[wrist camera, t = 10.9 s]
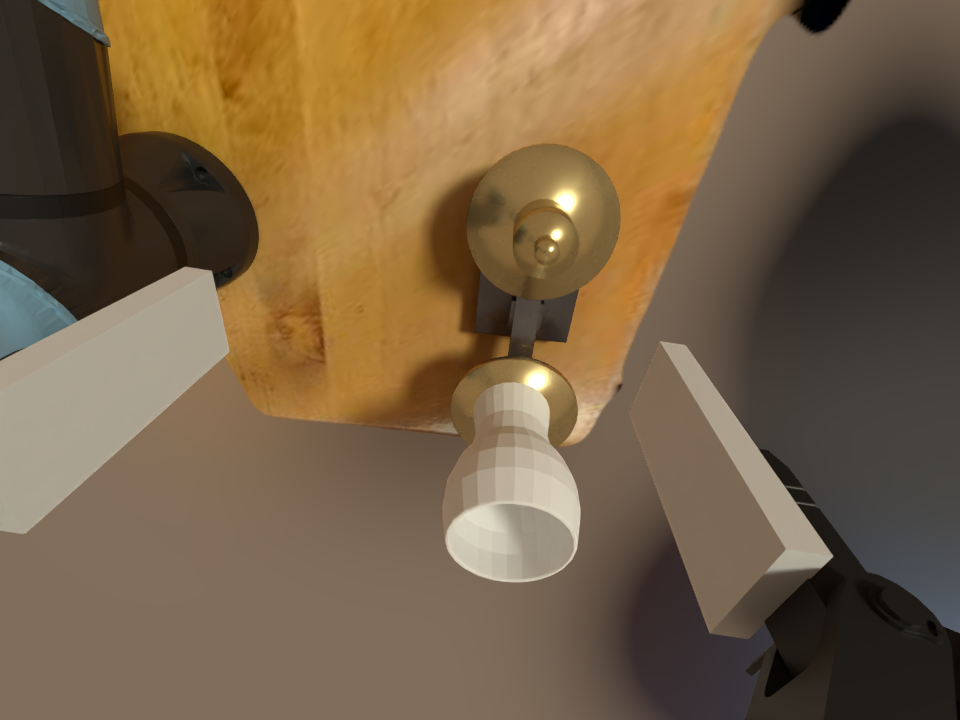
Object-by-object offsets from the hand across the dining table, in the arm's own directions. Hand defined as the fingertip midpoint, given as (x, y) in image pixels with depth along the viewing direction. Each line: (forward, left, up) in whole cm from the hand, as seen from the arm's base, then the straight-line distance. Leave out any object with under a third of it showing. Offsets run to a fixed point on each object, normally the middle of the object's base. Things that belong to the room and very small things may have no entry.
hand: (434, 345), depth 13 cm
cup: (+5, -20, -23) cm, 31 cm away
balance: (+5, -12, -31) cm, 34 cm away
